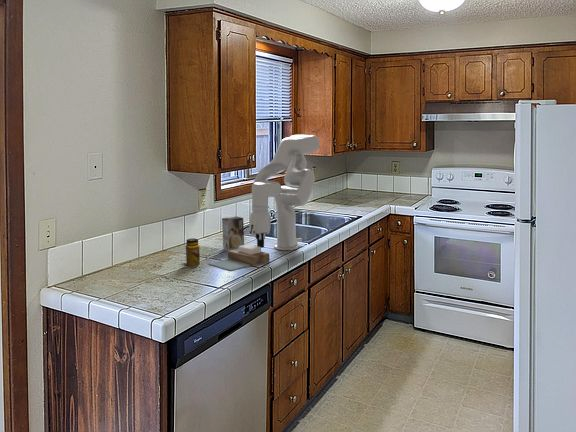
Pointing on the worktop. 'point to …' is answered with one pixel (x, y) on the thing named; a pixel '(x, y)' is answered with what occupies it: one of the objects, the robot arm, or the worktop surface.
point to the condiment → (192, 253)
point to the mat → (229, 264)
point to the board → (248, 257)
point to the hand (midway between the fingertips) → (260, 247)
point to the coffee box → (232, 233)
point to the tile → (249, 249)
